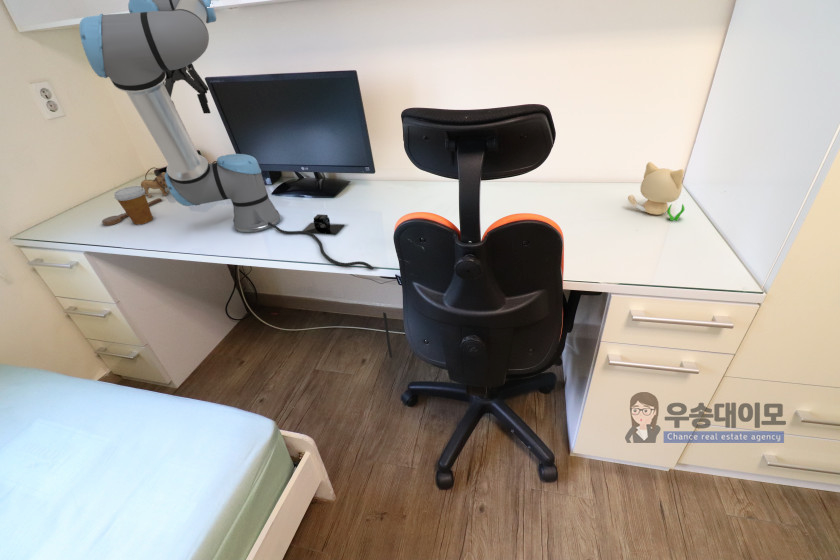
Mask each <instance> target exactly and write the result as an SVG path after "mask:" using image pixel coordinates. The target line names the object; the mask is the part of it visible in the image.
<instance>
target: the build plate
mask: <svg viewBox="0 0 840 560" xmlns="http://www.w3.org/2000/svg"><path fill="white" fill-rule="evenodd" d="M345 226H346V225H345V224H343V223H342V224H341V223H331V221H330V218H329V216H328V214H316V215H315V216H314V217H313V222H310V223H309V224H308V225H307V226H306V227H305V228H304V229H303V230H302V231H307V232H310V233H312V234H314V235H325V236H326V235H330V236H337V235H338V234H339V232H341V231H342V229H343V228H344V227H345Z"/></svg>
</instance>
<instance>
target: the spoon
mask: <svg viewBox="0 0 840 560" xmlns="http://www.w3.org/2000/svg"><path fill="white" fill-rule="evenodd" d="M162 201H163V199H162V198H161V197H160V198H159V197H157V198H155V199H153V200H150V201H147V202H148V205H149V207H151V206H153V205H156V204H158V203H160V202H162ZM126 218H129V216H128V214H127V213H126V212H123V213H120V214H118V215H111V216H107V217H105V218H103V219H102V220H101V223H102V225H103V226H105V227H108V226H113V225H116V224H119V223H121V222H122V221H123V219H126Z"/></svg>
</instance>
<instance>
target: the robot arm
mask: <svg viewBox="0 0 840 560" xmlns="http://www.w3.org/2000/svg"><path fill="white" fill-rule="evenodd" d="M211 1H212V0H128V4H127V6H128V12H124V13H111V14H108V13H107V14H104V13H100V14H98V15H92V16H91V15H90V16H84V17H83V18H81V20H80V22H79V27H78V28H79V36H80V41H81V45H82V48H83V51H84V54H85V56H86V59H87V61H88V63H89V65H90V67H91V69H92V70H93V72H94V73H95V74H96V75H97V76H98V77H100V78H103V79H108V78H109V79H110V81H111V83H112V85H113V86H114V87H115V88H116V89H118V90H120V91H122V92H125V93H126V94H127V96H128V98H129V100H130V101H131V103H132V104H133V106H134V109H135V110H136V111H137V113H138V115H139V116H140V118H141V120H142V122H143V124H144V125H145V127H146V128H147V130H148V132H149V133H150V135H151V137H152V138H153V140H154V142H155V144H156V146H157V147H158V149H159V150H160V152H161V154H162V155H163V157H164V160H165V161H166V162H167V166H166V171H165V180H166V184H167V186H168V187H167V188H168V189H169V193H170V194H171V196H172V197H173V198H174V200H175V201H176V202H177V203H178V204H180V205H182V206H184V207H192V206H200V205H203V204H209V203H214V202H215V203H216V202H220V201H225V200H230V201H231V203H232V207H233V219H232V222H233V226H234V228H235V231H237V232H240V233H243V234H250V233H258V232H262V231H266V230H268V229H271V228H273V229H275V230H276V231H278V232H279V233H281V234H286V235H298V234H300V235H301V234H304V235H307V236H311V237H312V238H313V239H314V240H315V241H316V242H317V244H318V246H319V250H320V253H321V254H322V255H323V256H324V258H325V259H327V260H328V261H329V262H331V263H332V264H334V265H337V266H339V267H340V266H342V267H351V266H356V265H357V266H358V265H360V266H365V267H367V268H368V269H369V270H375V268H374V267H373V266H372V265H371V264H369V263H368V262H365V261H359V260H357V261H349V262H342V261H341V262H340V261H338V260H335V259H333V258H332V257H330V256H329V255H328V254H327V253H326V252H325V250H324V246H323V243H322V241H321V240H320V239H319V237H318V236H317V235H316V234H312V233H310V232H307V231H303V230H284V229H281V228H279V227H278V226H277V225H278V224H279V223H280V222H281V215H280V212H279V210H277V208H276V206H275V205H274V203H273V202H272V201H271V199H270V197H269V194H268V191H267V188H266V184H265V181H264V178H263V174H262V169H261V168H260V164H259V161H258V160H257V159H256V158H255V156H252V155H250V154H245V153H229V154H225V155H220V156H218V157H217V158H216V162H212V163H209V161H208V159H207V158H206V157H204V156H203V155H201V154H199V153H198V150H197V148H196V146H195V144H194V142H193V141H192V138H191V137H190V134H189V132H188V130H187V128H186V126H185V124H184V122H183V120H182V118H181V116H180V114H179V112H178V110H177V108H176V105H175V103H174V101H173V100H172V95H173V94H172V93H173V90H174V85H175V83H176V82H179V81H185V82H186V83H187V84H188V85H189V86H190V87H191V88H192V89H193V90H194V91H196V92H197V94H196V97H197V99H198V101H199V104H200V107H201V110H202V112H203V114H211V109H210V107H209V104H208V103H209V100H208V98H207V93H208V92H209V90H210V89H209V87H208V86H207V84H206V83H205V81H204V80H203V79H202V77H201V76H200V75H199V73H198V72H197V71H196V69H195V67H194V64H193V63H195V62H196V61H198V59H200V58H201V57H202V56H203V54H204V53H205V52H206V50H207V49H208V46H209V40H210V36H209V35H210V34H209V30H208V28H207V24H210V23H215V22H216V21H217V15H216V11H215V8H207V7H210V4H211ZM382 316H383V323H384V329H385V337H386V343H387V350H388V355H389V358H390V359H392V358H393V353H392V346H391V340H390V331H389V324H388V318H387V313H386V312H382Z"/></svg>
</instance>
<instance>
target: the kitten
mask: <svg viewBox="0 0 840 560" xmlns="http://www.w3.org/2000/svg"><path fill="white" fill-rule="evenodd" d="M684 172H685V171H684V169H683V168H680V169H677V170H673V169H670V168H659V167H658V166H657V165H655V164H654V163H653V162H652V161H648V162H647V163H646V165H645V171H644V173H643V179H642V181H641V183H640V186H639V187H640V194H641V195H642V197H644V198H645V199H646V200H645V202H643V204H640V203H638V202H637V200H636V198H635V196H634V195H633V194H630V195H629V194H628V196H627V201H628V202H629V203H630V204H631V205H632V206H633V207H635V208H636V209H637V210H639V211H642V212H645V213H647V214H650V215H663V214H665V213H666V214H667V215H668V219H669V221H676V222H678V220H679V219H680V217H681V215H682V214H683V213H684V212H685V210H686V208H685V206H684V204H683V203H682V204H681V210H680V211H679V212H678V213H676V215H675V216H673V215H672V213H671V208H672V205H673V204H672V203H673V202H675V201H677V200H678V199H680V197H681V194H682V190H683V184H682V183H683V178H684ZM669 203H671V204H670V205H669Z"/></svg>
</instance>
